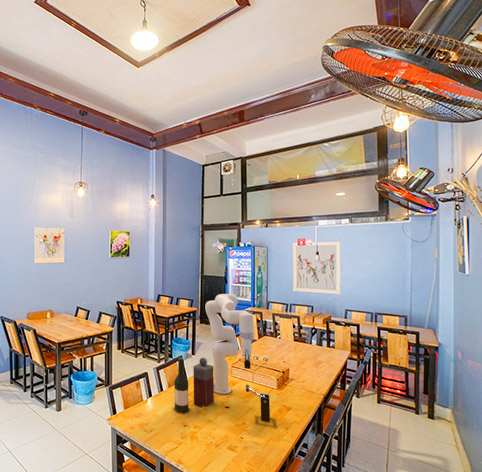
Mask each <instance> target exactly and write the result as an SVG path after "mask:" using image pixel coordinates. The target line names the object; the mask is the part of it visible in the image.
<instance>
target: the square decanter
mask: <svg viewBox="0 0 482 472" xmlns="http://www.w3.org/2000/svg"><path fill="white" fill-rule="evenodd" d="M198 361H199V363H197V364H195V365H193V369H192V371H193V405H194V406H196V407H199V408H203V407H205V408H208V407H209V406H211V405H212V404H213V403H215V392H214V365H213V364H212V365H211V364H208V359H207V358H205V357H201V358H199V360H198Z"/></svg>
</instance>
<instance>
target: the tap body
mask: <svg viewBox="0 0 482 472" xmlns="http://www.w3.org/2000/svg"><path fill="white" fill-rule="evenodd" d="M259 394H260V395H261V396H263V395H264V396H266V397H261V398H260V397H259V398H260V421H261V422H268V423H270V422H271V409H270V407H271V405H270V403H271V402H270V394H267V393H259Z"/></svg>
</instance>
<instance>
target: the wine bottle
mask: <svg viewBox="0 0 482 472" xmlns="http://www.w3.org/2000/svg"><path fill="white" fill-rule="evenodd" d="M177 367H178V368H177V369H178V371H177V372H178V373H177V375H176V377H175V379H174V411H175V412H177V413H178V414H179V413H181V414H185V413H188V412H189V406H190V405H189V404H190V403H189V379H188V378H187V376H186V375H185V360H184V358H183V357H178V360H177Z"/></svg>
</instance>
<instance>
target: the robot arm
mask: <svg viewBox="0 0 482 472" xmlns="http://www.w3.org/2000/svg"><path fill="white" fill-rule="evenodd" d="M238 302H239V300H238V297H237V295H235V294H233V293H220V294H217V295H216V296H215V298H214V300H208V301H206V302H205V306H204V307H205V313H206V316H207V318H208V321H209V326H210V331H211V332H210V333H211V337H212V339H213V340H214V341H218V342H215V343H213V344H212V346H211V352H212V357H213V358H212V359H213V378H214V393H216V394H219V395H228V394H231V392H232V388H231V387H230V384H229V383H230V381H229V380H230V379H229V362H228V361H227V360H226V358H235V357H237V356H238V355H239V344H238V340H237V335H236V331H235V329H234V327H232V326H230V324H231V325H233V324H235V325H237V324H238V325H239V327H238V328H239V338H240V339H241V341H240V343H241V357H243V358H244V360H243V364H244V365H243V366H244V369H248V370H250V369H251V357H252V349H253V348H252V345H253V344H252V340H253V339H255V337H254V336H255V335H254V314H252V313H250V312H248V311H247V310H243V309H241V310H240V309H239V310H236V307H237V305H238V304H239V303H238ZM218 313H220V315H221V316H220V315H219V314H218ZM222 319H223V320H224V321H225V323H227V324H229V325H224V324H223V320H222ZM219 341H220V342H219ZM221 341H222V342H221ZM226 341H227V342H226Z"/></svg>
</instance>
